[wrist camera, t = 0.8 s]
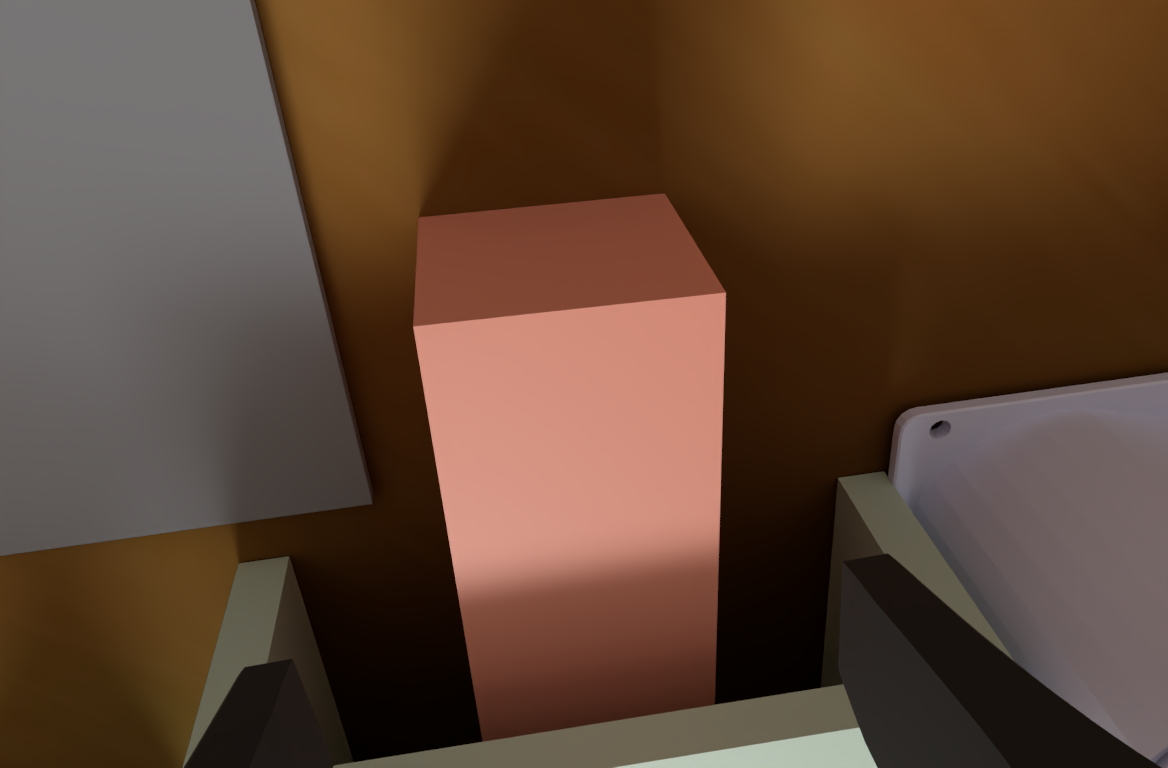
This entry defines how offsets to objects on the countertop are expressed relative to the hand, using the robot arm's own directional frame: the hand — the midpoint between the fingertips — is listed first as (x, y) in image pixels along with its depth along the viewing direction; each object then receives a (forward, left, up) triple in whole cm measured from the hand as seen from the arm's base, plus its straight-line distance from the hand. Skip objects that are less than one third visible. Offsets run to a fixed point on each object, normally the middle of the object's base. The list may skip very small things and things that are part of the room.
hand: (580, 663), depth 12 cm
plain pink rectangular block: (0, +4, -10) cm, 10 cm away
